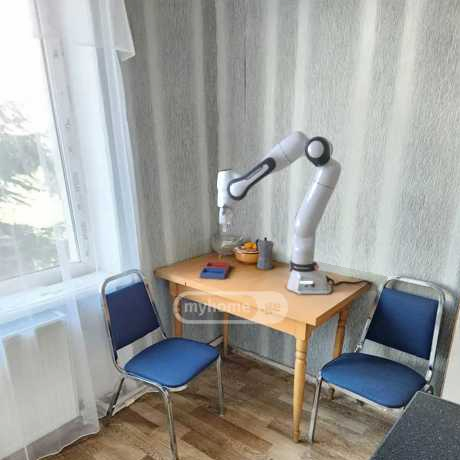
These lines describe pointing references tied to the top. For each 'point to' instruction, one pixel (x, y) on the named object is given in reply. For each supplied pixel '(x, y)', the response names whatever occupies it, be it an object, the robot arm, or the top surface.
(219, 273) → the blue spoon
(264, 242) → the coffeepot
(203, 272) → the blue bin
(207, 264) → the red bin
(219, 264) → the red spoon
